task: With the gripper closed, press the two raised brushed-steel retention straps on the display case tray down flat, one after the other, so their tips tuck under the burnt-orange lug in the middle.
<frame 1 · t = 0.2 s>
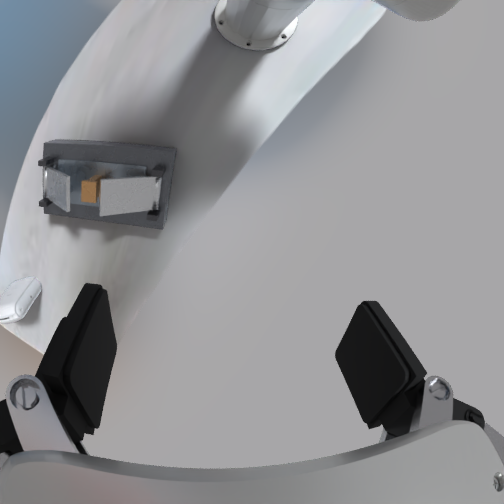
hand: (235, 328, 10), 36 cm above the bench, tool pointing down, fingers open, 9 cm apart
strap b: (130, 194, 35), point 7 cm above the bench, hinge at 35.0°
strap a: (55, 187, 32), point 7 cm above the bench, hinge at 35.0°
photo printer: (27, 284, 47), on the bench
display case tray: (107, 177, 40), on the bench
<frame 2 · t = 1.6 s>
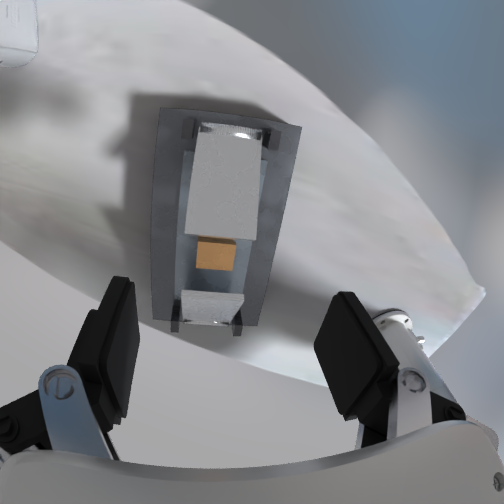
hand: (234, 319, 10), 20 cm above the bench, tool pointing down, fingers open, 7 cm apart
strap b: (208, 310, 26), point 7 cm above the bench, hinge at 35.0°
strap a: (225, 176, 20), point 7 cm above the bench, hinge at 35.0°
photo printer: (26, 31, 14), on the bench
display case tray: (214, 219, 29), on the bench
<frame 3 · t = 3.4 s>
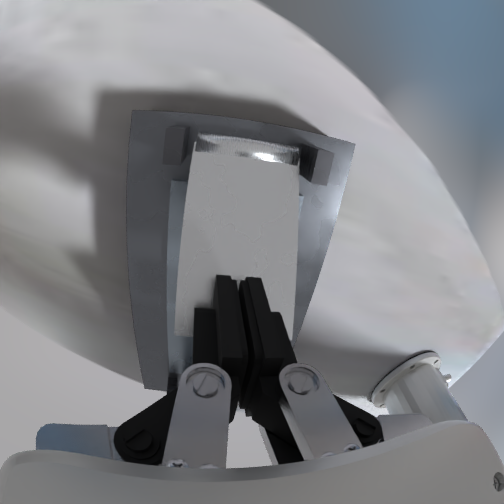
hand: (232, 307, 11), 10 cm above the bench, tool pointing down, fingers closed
strap a: (240, 232, 12), point 7 cm above the bench, hinge at 34.9°, touching gripper
display case tray: (219, 268, 21), on the bench
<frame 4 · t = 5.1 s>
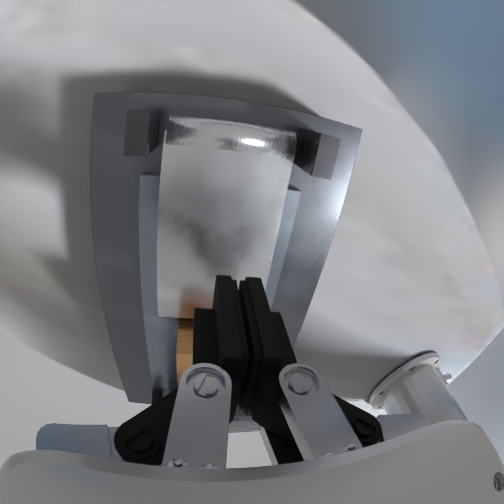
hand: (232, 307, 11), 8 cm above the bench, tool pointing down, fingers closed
strap b: (203, 415, 15), point 7 cm above the bench, hinge at 35.0°
strap a: (217, 231, 12), point 5 cm above the bench, hinge at 2.2°
display case tray: (204, 272, 19), on the bench
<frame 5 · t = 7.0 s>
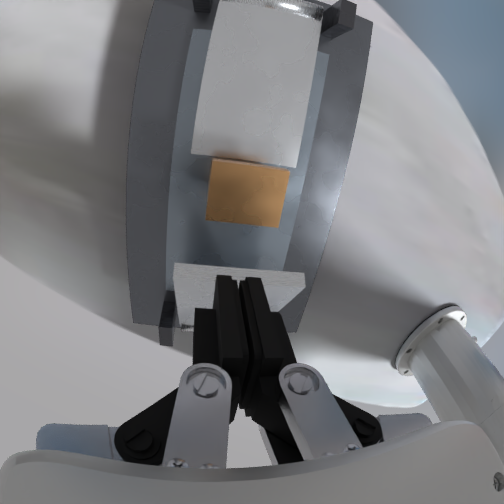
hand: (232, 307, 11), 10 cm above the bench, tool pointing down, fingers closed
strap b: (226, 308, 14), point 7 cm above the bench, hinge at 34.9°, touching gripper
strap a: (259, 68, 11), point 5 cm above the bench, hinge at 2.1°
display case tray: (233, 161, 18), on the bench
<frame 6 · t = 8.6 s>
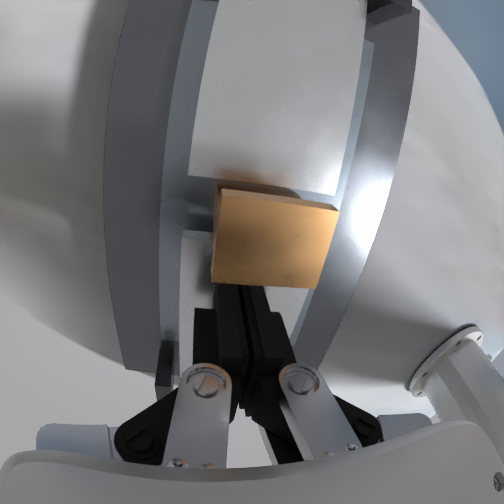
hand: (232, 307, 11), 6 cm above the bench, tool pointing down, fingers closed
strap b: (236, 329, 12), point 5 cm above the bench, hinge at 4.0°
strap a: (287, 54, 7), point 5 cm above the bench, hinge at 2.1°
display case tray: (243, 176, 14), on the bench
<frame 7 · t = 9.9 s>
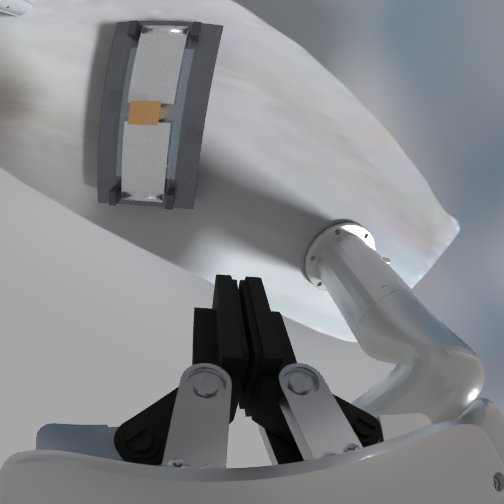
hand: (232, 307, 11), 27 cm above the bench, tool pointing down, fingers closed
strap b: (144, 162, 27), point 5 cm above the bench, hinge at 3.9°
strap a: (157, 62, 22), point 5 cm above the bench, hinge at 2.1°
display case tray: (157, 111, 29), on the bench
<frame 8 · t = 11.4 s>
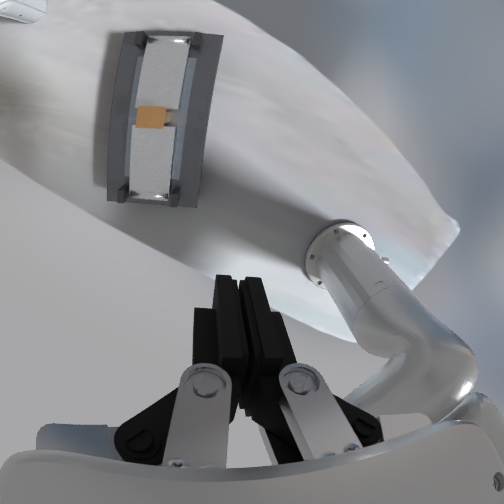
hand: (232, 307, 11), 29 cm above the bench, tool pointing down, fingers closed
strap b: (150, 163, 30), point 5 cm above the bench, hinge at 3.9°
strap a: (162, 70, 25), point 5 cm above the bench, hinge at 2.1°
photo printer: (38, 0, 17), on the bench
display case tray: (163, 116, 32), on the bench
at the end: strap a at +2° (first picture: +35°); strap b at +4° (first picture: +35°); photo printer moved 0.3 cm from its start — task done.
